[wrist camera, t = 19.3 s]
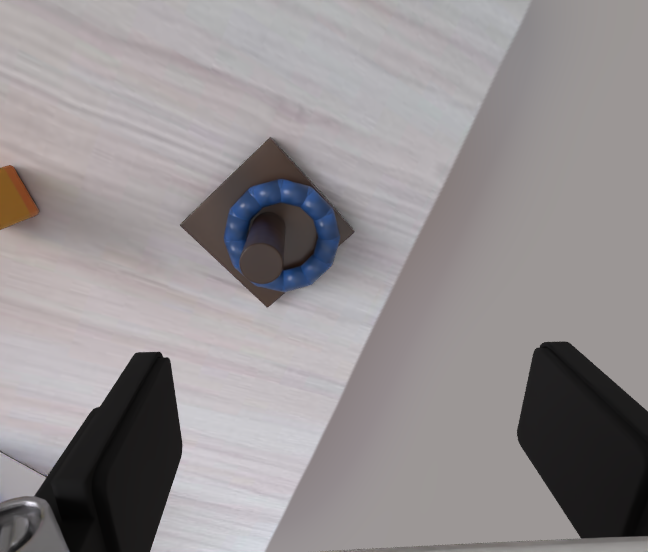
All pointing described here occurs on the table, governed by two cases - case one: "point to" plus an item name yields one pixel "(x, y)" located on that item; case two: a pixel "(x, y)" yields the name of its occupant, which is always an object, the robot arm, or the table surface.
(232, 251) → the ring
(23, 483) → the red patterned cube box
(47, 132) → the table surface
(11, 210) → the supplement box
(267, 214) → the peg
